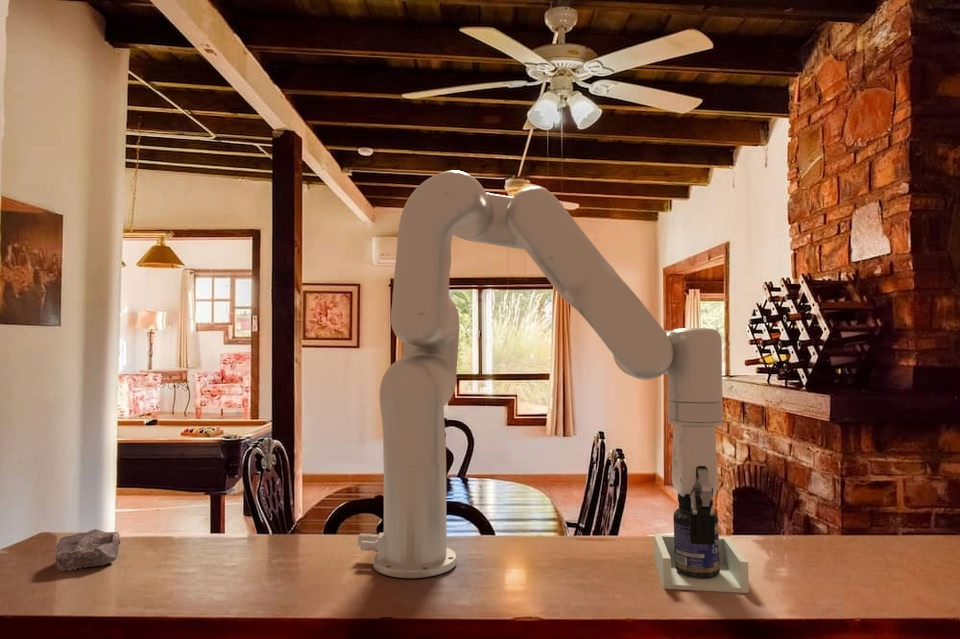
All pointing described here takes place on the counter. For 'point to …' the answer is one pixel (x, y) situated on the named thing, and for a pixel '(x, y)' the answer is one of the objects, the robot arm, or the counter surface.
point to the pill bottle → (693, 545)
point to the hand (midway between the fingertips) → (695, 533)
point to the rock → (87, 549)
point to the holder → (727, 580)
